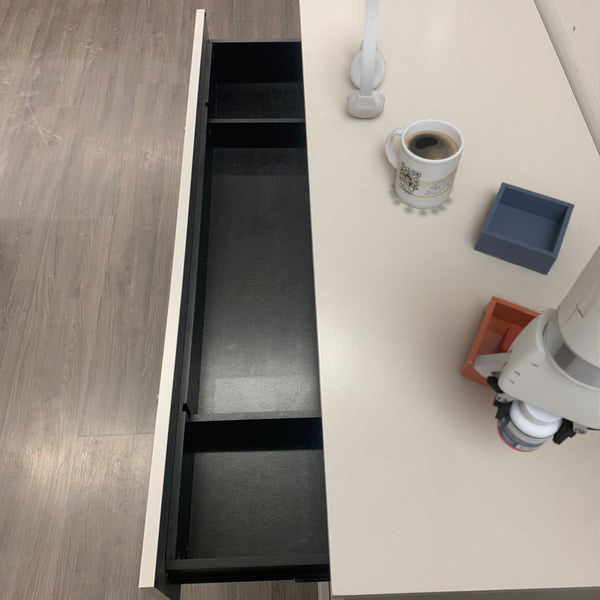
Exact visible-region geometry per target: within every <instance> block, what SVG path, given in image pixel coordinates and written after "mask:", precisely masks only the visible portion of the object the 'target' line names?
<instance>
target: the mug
mask: <svg viewBox="0 0 600 600" xmlns="http://www.w3.org/2000/svg"><path fill="white" fill-rule="evenodd" d="M395 136H401V138H400V145H399V150H398V156H397V155H396V153H395V150H394V145H393V142H394V138H395ZM384 144H385V145H384V147H385V150H384V151H385V155H386V157H387V160H388V161H389V164H390V165H391V166H392V167H393V169H395V177H394V184H393V188H394V192H395V195H396V196H397V198H398V199H399V200H400V201H401V202H402V203H403V204H406V205H407V206H409V207H412V208H416V209H422V210H423V209H424V210H427V209H433V208H436V207H440V206H441V205H442V204H444V203H445V202H446V201H447V200H448V199H449V197H450V195H451V192H452V188H453V185H454V182H455V177H456V174H457V172H458V171H457V170H458V167H459V162H460V160H461V157H462V153H463V149H464V147H465V146H464V145H465V140H464V136H463V134H462V132H461V131H460V130H459V128H457V127H456V126H455V125H454V124H452V123H450V122H447V121H444V120H441V119H438V118H437V119H436V118H424V119H419V120H417V121H414V122H411V123H410V124H409V125H408V126H407V127H405V126H398V127H396V128H394V130H392V131H391V132H390V133H388V135H387V136H386V139H385V143H384Z"/></svg>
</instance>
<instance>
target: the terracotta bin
mask: <svg viewBox="0 0 600 600" xmlns="http://www.w3.org/2000/svg"><path fill="white" fill-rule="evenodd" d="M541 313H542V312H538V311H535V310H533V309H530V308H527V307H525V306H523V305H519V304H517V303H515V302H511V301H508V300H506V299H503V298H501V297H498V296H495V295H492V296H491V298H490V300H489V301H488V304H487V306H486V308H485V310H484V312H483V315H482V318H481V320H480V323H479V325H478V328H477V330H476V332H475V335H474V338H473V340H472V343H471V346H470V348H469V350H468V353H467V356H466V359H465V361H464V363H463V367H462V369H461V371H460V374H459V375H460V376H461V377H463V378H466V379H469V380H470V381H473V382H474V383H475V382H476V383H478V384H480V385H482V386H485V387H487V388H489V389H492V390H494V389H493V388H492V387H491V386H490V385H489V384H488V383H487V382H486V380H487V378H486V377H483V376H482V375H481V374H480V373H479V372H478V371H477V370H475V369H474V364H475V361H476V359H477V356H479V355H489V354H496V353H497V350H498V347H499V345H500V342H501V339H502V337H503V335H504V334H505V332H506V330H507V329H508V327H509V325H510V324H511V323H513V324H515V325H518V326H520V327H523V328H525V327H526V326H527V325H528V324H529V323H530V322H531V321H532V320H533V319H534V318H536V317H537V316H538V315H540V314H541Z"/></svg>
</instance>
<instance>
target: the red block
mask: <svg viewBox="0 0 600 600" xmlns="http://www.w3.org/2000/svg"><path fill="white" fill-rule="evenodd" d="M523 329H524V328H523V327H520V326H518V325H515V324H513V323H511V324H510V325H509V327H508V329H507V330H506V332H505V334H504V335H503V337H502V339H501V342H500V345H499V347H498V350H497V353H496V354H498V353H507V352H508V350H509V348H510V346H511V344H512V343H513V341H514V340H515V339H516V338H517V336H518V335H519V334H520V333H521V331H522V330H523Z"/></svg>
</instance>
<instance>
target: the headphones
mask: <svg viewBox="0 0 600 600" xmlns="http://www.w3.org/2000/svg"><path fill="white" fill-rule="evenodd" d="M379 4H380V0H365V10H364V24H363V38H362V40H361V43H360V44H359V45H360V46H359V48H358V51H357V52H356V53H355V54H354V56H353V57H352V59H351V62H350V65H349V77H350V80H351V82H352V84H353V85H354V86H355V87H356V88H358V89H355V90H352V91H351V92H349V93H348V94H347V96H346V112H347V113H348V114H349V115H351V116H353V117H356V118H358V119H373V118H375V117H379V116H381V115H382V114H383V113H384V108H385V102H386V97H385V95H384V93H382V92H380V90H376V88H378V87H379V86H380V85H381V84H382V83H383V81H384V79H385V77H386V73H387V65H386V60H385V58H384V56H383V54H382V53H381V51H379V46H378V42H377V38H378V21H379V7H380V6H379Z"/></svg>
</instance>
